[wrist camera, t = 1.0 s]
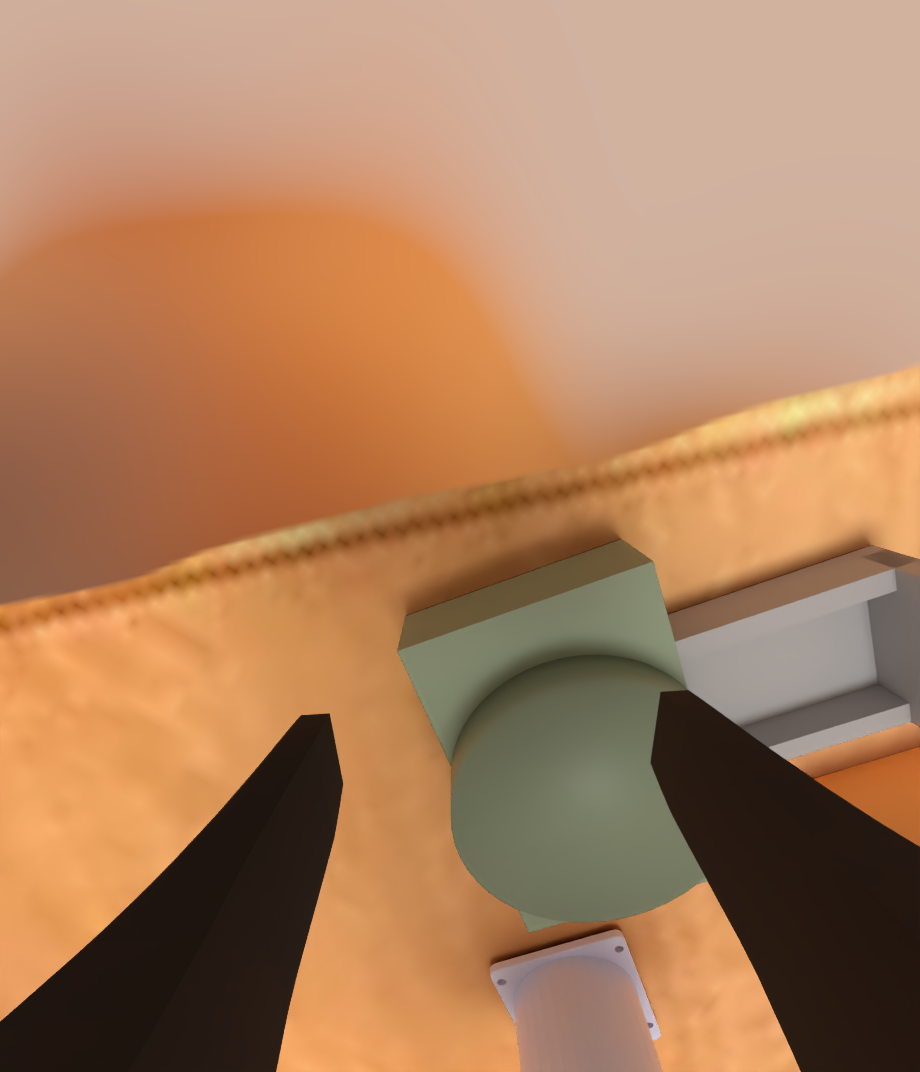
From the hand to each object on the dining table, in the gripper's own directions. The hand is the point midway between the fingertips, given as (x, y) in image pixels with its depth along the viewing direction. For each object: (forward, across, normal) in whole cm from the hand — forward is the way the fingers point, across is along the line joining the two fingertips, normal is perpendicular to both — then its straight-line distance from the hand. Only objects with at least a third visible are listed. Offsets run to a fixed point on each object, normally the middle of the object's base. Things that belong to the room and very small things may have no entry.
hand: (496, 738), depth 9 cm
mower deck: (+9, -9, +7) cm, 14 cm away
